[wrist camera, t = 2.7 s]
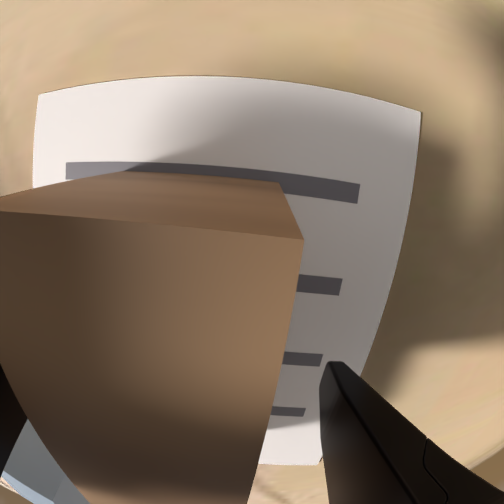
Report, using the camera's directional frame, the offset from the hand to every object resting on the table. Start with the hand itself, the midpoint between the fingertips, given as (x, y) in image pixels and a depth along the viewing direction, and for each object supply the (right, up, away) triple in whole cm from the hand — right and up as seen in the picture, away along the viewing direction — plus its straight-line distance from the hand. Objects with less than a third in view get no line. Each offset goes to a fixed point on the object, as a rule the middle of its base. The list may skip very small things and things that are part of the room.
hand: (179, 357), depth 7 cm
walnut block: (0, 0, +1) cm, 1 cm away
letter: (0, 0, +1) cm, 1 cm away
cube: (-9, -8, +5) cm, 13 cm away
